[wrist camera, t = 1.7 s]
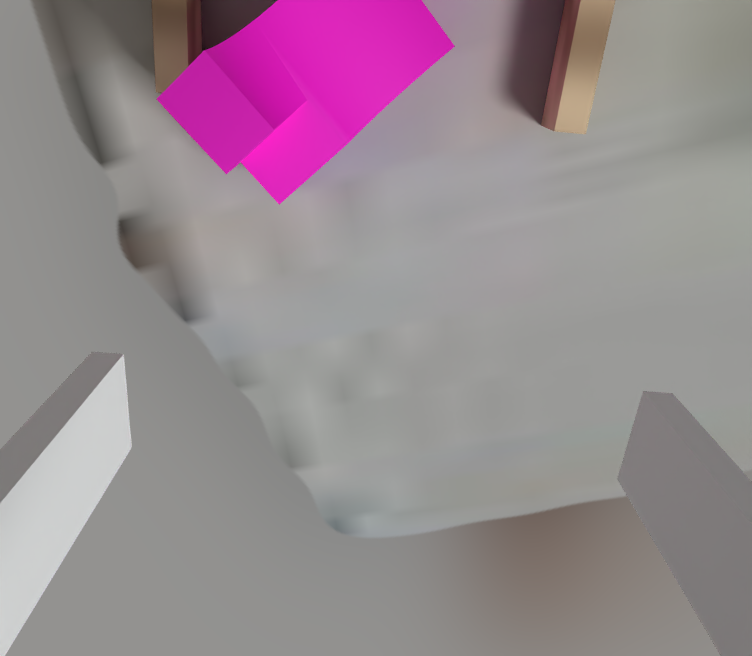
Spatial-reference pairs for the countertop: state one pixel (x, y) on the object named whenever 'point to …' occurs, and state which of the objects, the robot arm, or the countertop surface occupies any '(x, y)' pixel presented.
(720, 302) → the countertop surface
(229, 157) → the toy block
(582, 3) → the rack bay
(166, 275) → the countertop surface
